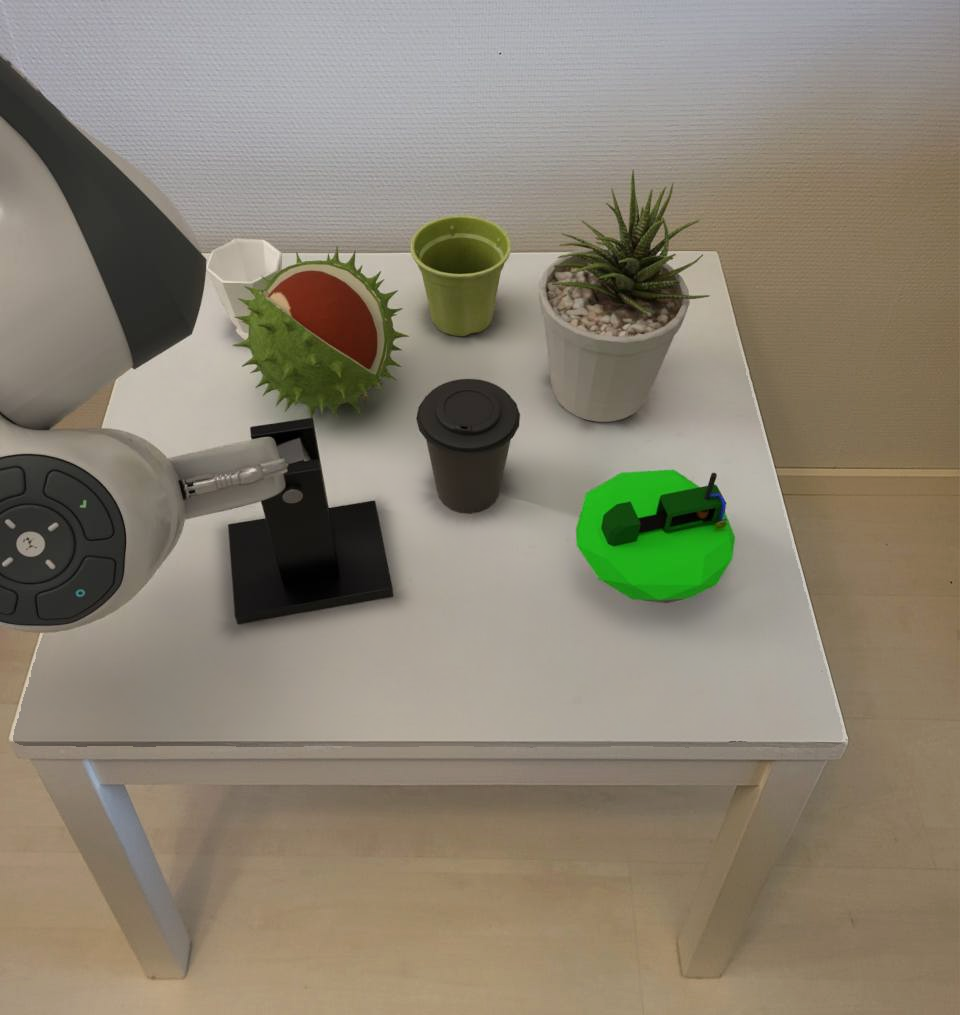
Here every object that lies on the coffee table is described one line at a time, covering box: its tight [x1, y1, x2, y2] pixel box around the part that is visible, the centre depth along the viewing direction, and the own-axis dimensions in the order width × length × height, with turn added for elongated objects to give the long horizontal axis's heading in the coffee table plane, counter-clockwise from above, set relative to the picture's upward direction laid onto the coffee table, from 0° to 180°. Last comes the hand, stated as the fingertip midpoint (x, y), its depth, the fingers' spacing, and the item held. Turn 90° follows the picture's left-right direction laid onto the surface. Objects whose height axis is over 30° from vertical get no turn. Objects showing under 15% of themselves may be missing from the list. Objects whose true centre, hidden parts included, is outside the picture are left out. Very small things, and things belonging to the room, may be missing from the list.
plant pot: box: [409, 214, 512, 337], centre depth 92 cm, size 9×9×9 cm
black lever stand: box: [227, 417, 394, 625], centre depth 71 cm, size 12×9×14 cm
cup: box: [206, 237, 283, 341], centre depth 92 cm, size 7×10×8 cm
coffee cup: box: [416, 378, 521, 515], centre depth 78 cm, size 8×8×10 cm
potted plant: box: [538, 169, 711, 423], centre depth 82 cm, size 13×14×20 cm
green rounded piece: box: [575, 469, 736, 604], centre depth 73 cm, size 12×12×11 cm
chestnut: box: [232, 245, 410, 421], centre depth 84 cm, size 15×14×15 cm
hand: (133, 492), depth 66 cm, fingers closed
